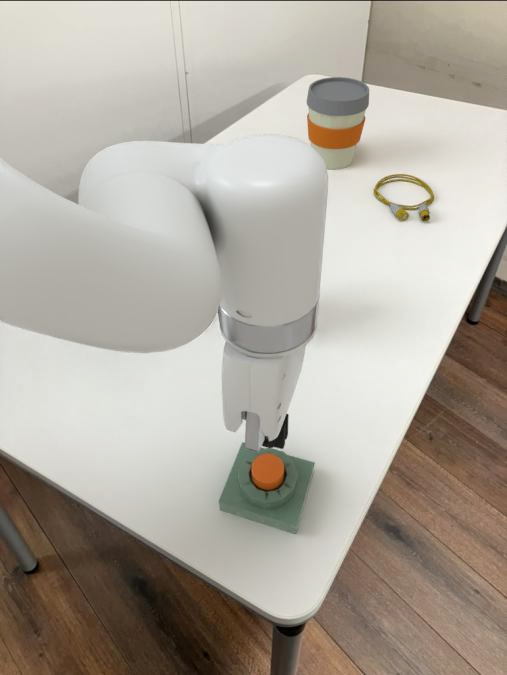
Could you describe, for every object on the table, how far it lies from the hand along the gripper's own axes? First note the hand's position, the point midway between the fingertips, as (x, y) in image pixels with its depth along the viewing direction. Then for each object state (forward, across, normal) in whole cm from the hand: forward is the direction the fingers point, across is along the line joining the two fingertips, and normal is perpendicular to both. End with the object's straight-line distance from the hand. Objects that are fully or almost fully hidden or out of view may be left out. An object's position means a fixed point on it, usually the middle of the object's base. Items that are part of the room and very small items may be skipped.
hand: (270, 438), depth 52 cm
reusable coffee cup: (+12, -79, -10) cm, 80 cm away
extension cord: (+12, -67, +7) cm, 68 cm away
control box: (+11, 0, 0) cm, 11 cm away
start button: (+8, 0, 0) cm, 8 cm away
